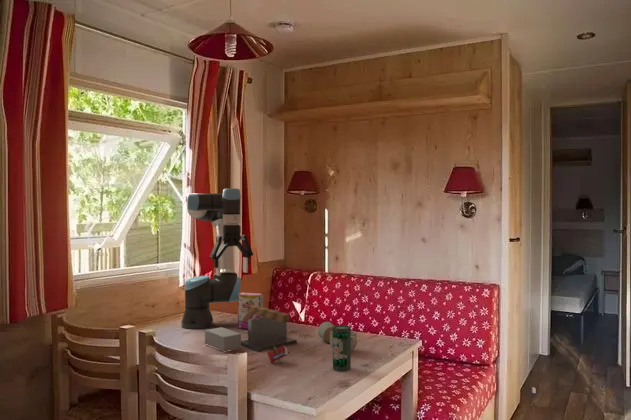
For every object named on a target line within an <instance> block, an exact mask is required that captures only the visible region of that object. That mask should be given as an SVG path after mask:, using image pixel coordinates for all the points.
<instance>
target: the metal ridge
mask: <svg viewBox="0 0 631 420" xmlns="http://www.w3.org/2000/svg"><path fill="white" fill-rule="evenodd" d="M287 324H288V322H285V323H282V322H279V321H275V320H272V319H269V318H265V317H260V318H254V319H248V329H247V339H245V340H244V339H243V340H241V348H242V347H243V348H245V349H247V350H250V351H253V352H255V353H261V352H264V351H271V350H272V349H273V350H275V348H274V346H273V345H275V347H276V349H277V348H279V347H281V346H282V345H284V346H285V347H286V346H292V345H296V344H298V339H295V338H292V337H288V336H287V335H288V333H287V331H288V326H287ZM272 346H273V347H272Z"/></svg>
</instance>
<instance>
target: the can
mask: <svg viewBox="0 0 631 420" xmlns="http://www.w3.org/2000/svg"><path fill="white" fill-rule="evenodd" d="M351 331H352V330H351V326H350V325H347V324H345V325H344V324H336V325H334V326H333V349H332V369H333V371H336V372H348V371H350V370H351V368H352V367H351V365H352V364H351V362H352V361H351V359H352V358H351V353H352V352H351Z"/></svg>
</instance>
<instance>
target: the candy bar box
mask: <svg viewBox="0 0 631 420" xmlns="http://www.w3.org/2000/svg"><path fill="white" fill-rule="evenodd" d="M248 305H256V306H260V307H264V294H263V293H255V292H254V293H253V292H240V294H238V300H237V329H241V330H242V329H243V330H248V319H254V318H260V317H262V316H258V315H255V314H251V313H248Z"/></svg>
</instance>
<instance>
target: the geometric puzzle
mask: <svg viewBox="0 0 631 420" xmlns="http://www.w3.org/2000/svg"><path fill="white" fill-rule="evenodd" d="M273 346H274V349H270V350H268V351H267V352H266V353H267V357H268V358H269V361H270V364H274V363H275V362H278V363H276V364H278V365H279V363H280V365H283V363H284V358H286V357H287V356H288V355H289V354H288V353H289V352H288V349H287V347H286V346H284V345H282V346H281V347H279V348H276V347H275V345H273ZM273 346H272V347H273ZM281 360H282V361H281Z"/></svg>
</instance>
